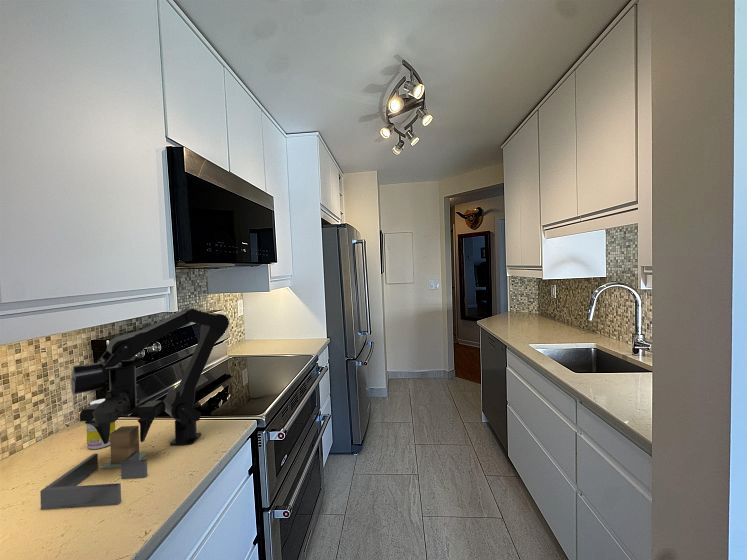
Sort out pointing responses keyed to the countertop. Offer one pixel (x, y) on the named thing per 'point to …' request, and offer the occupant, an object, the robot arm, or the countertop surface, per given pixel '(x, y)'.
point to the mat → (109, 465)
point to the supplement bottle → (93, 435)
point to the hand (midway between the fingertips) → (124, 442)
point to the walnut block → (123, 443)
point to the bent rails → (71, 495)
